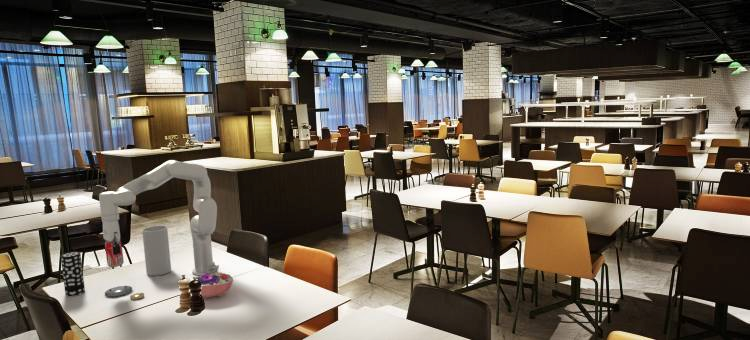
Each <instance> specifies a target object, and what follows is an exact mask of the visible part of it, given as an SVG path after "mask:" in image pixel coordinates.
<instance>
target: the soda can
mask: <svg viewBox="0 0 750 340" xmlns="http://www.w3.org/2000/svg"><path fill="white" fill-rule="evenodd" d="M113 240H116V239H113ZM115 242H116V241H115ZM115 242H114V243H115ZM122 246H123V244H122V241H121V240H120V250H121V253H120V254H116V255H114V254H113V243H112V241H111V242H109V241H107V240H105V242H104V248H105V256H106V258H105V259H106V263H107V266H108V267H109V268H118V267H121V266H123V265H124V263H125V262H124V254H123V247H122Z"/></svg>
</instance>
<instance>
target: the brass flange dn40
mask: <svg viewBox="0 0 750 340" xmlns="http://www.w3.org/2000/svg"><path fill="white" fill-rule="evenodd" d="M129 298H130V300H131V301H138V300H141V299H143V298H145V293H143V292H137V293H133V294H131V295H130V296H129Z"/></svg>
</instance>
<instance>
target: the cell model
mask: <svg viewBox="0 0 750 340" xmlns="http://www.w3.org/2000/svg"><path fill="white" fill-rule="evenodd" d="M195 278H196V279H198V280H199V281H201V283H202V289H201V295H202V296H203V297H202V298H213V297H222V296H224V295H225V294H227V293H228V292H229V291H230V289H231V287H232V285H233V282H234V277H232V276H231V274H228V273H223V272H219V273H218V272H217V273H210V274H208V273H203V274H202V275H197V276H196V277H195Z"/></svg>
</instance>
